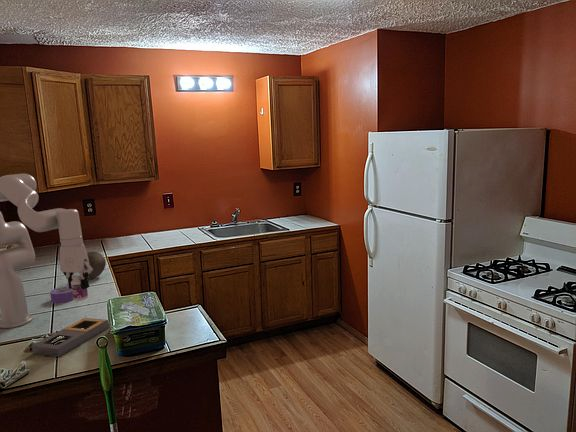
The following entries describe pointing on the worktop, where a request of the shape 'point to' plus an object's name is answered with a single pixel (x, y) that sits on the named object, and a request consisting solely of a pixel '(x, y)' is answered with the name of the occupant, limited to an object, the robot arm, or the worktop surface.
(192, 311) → the worktop surface
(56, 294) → the tape roll
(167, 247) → the worktop surface
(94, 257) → the cantaloupe
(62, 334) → the hole rail
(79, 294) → the pill bottle
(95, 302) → the worktop surface
